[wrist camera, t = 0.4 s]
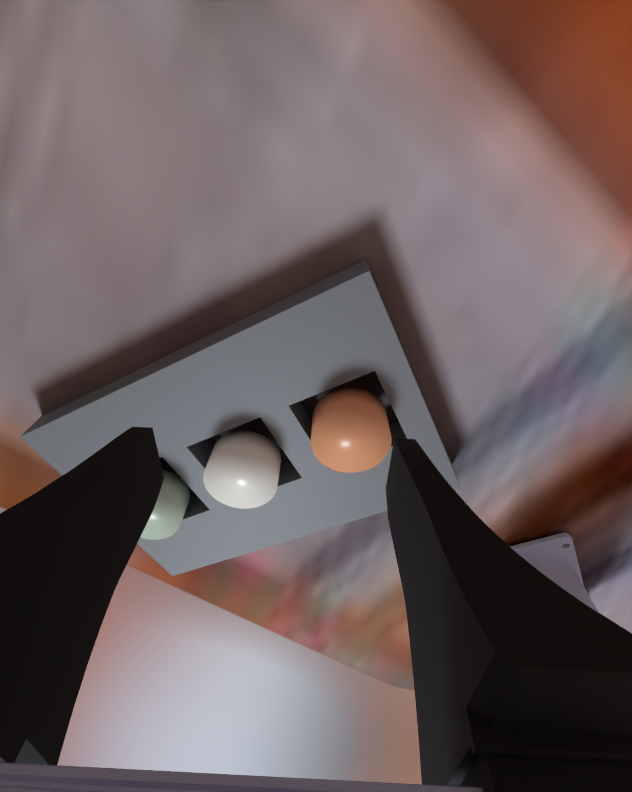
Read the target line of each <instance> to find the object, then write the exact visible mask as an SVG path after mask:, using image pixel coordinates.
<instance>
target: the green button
mask: <svg viewBox="0 0 632 792" xmlns="http://www.w3.org/2000/svg"><path fill="white" fill-rule="evenodd" d="M162 471H163V476H164V480H163V483H162V487H161V490H160V493H159V496H158V499H157V502H156V504H155V507H154V510H153V512H152V514H151V516H150V518H149V520H148V522H147V524H146V526H145V528H144V530H143V533H142V535H141V537H140V538H143V539H150V540H158V539H164V538H167V537H170V536H172V535H173V534H175V533H176V532H177V530H178V529H179V527H180V524H181V521H182V519H183V516H184V514H185V511H186V509H187V506H188V503H189V501H190V492H189V489H188V487H187V485H186V484H185V483H184V482H183V481H182V480H181V479H180V478H179V477H178V476H176V475H175V474H173V473H171V472H169V471H166V470H163V469H162Z"/></svg>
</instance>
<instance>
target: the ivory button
mask: <svg viewBox="0 0 632 792" xmlns="http://www.w3.org/2000/svg"><path fill="white" fill-rule="evenodd" d="M280 466H281V455H280V452H279V450H278V448H277V447H276V445H275V444H274V443H273V442H272V441H271V440H270V439H268V438H267V437H265V436H263V435H261V434H258V433H255V432H251V431H235V432H231V433H228V434H226V435H224V436H222V437H221V438H220V439H219V440H218V441H217V442H216V443H215V445H214V447H213V450H212V452H211V455H210V458H209V460H208V463H207V466H206V468H205V471H204V474H203V482H204V485H205V488H206V489H207V491H208V492H209V494H210V495H211V496H212V497H213V498H215V499H216V500H217V501H219V502H221V503H223V504H225V505H227V506H230V507H234V508H241V509H249V508H256V507H259V506H262V505H264V504H266V503H267V502H269V501H270V500H271V499H272V498H273V497H274V495H275V493H276V490H277V486H278V479H279V472H280Z"/></svg>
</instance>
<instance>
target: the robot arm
mask: <svg viewBox="0 0 632 792" xmlns="http://www.w3.org/2000/svg"><path fill="white" fill-rule="evenodd" d="M163 480H164V476H163V471H162V467H161V463H160V458H159V454H158V449H157V445H156V441H155V436H154V432H153V428H151V427H131V428H130V429H128V430H126V431H125V432H123V433H122V434H121V435H119V436H118V437H116V438H115V439H114V440H112V441H111V442H109V443H108V444H107V445H105V446H104V447H103V448H101V449H100V450H98V451H97V452H96V453H94V454H93V455H92V456H90V457H89V458H87V459H86V460H84V461H83V462H82V463H80V464H79V465H77V466H76V467H75V468H73V469H72V470H70V471H69V472H67V473H66V474H64V475H63V476H61V477H60V478H58V479H57V480H55V481H54V482H52V483H50V484H49V485H47V486H46V487H44V488H43V489H41V490H40V491H38V492H37V493H35V494H33V495H32V496H30V497H28V498H27V499H25V500H23V501H22V502H20V503H18V504H17V505H15V506H13V507H11V508H9V509H8V510H6V511H4V512H2V513H0V792H632V634H631V633H630V632H628V631H627V630H625V629H624V628H622V627H620V626H619V625H617V624H616V623H614V622H612V621H611V620H609V619H608V618H606V617H605V616H603V615H601V614H600V613H599V612H598V611H597V609H596V607H595V605H594V603H593V602H592V600H591V598H590V596H589V595H588V593H587V591H586V589H585V588H584V584H583V580H582V576H581V572H580V568H579V564H578V560H577V556H576V552H575V548H574V544H573V540H572V538H571V536H570V535H569V534H568V533H560V534H556V535H552V536H548V537H544V538H540V539H537V540H533V541H529V542H525V543H521V544H517V545H514V546H510V547H509V546H508V545H507V544H506V543H505V542H504V541H503V540H502V539H501V538H500V537H498V536H497V535H496V534H495V533H494V532H493V531H492V530H491V529H490V528H489V527H488V526H487V525H486V524H485V523H484V522H483V521H482V520H481V519H480V518H479V517H478V516H477V515H476V514H475V513H474V512H473V511H472V510H471V509H470V508H469V506H468V505H467V504H466V503H465V502H464V501H463V500H462V499H461V497H460V496H459V495H458V494H457V493H456V492H455V490H454V489H453V488H452V487H451V486H450V484H449V483H448V482H447V481H446V479H445V478H444V477H443V476H442V474H441V473H440V472H439V471H438V469H437V468H436V467H435V465H434V464H433V463H432V461H431V460H430V459H429V457H428V456H427V455H426V453H425V452H424V450H423V449H422V448H421V446H420V445H419V443H418V442H417V441H416V440H415V439H400V438H394V442H393V448H392V454H391V460H390V466H389V472H388V478H387V484H386V499H387V510H388V520H389V525H390V530H391V535H392V540H393V544H394V549H395V554H396V558H397V563H398V568H399V573H400V577H401V582H402V587H403V592H404V598H405V604H406V611H407V620H408V629H409V637H410V647H411V657H412V667H413V676H414V687H415V698H416V710H417V722H418V734H419V747H420V762H421V775H422V785H420V784H400V783H399V784H398V783H381V782H361V781H342V780H324V779H305V778H286V777H285V778H284V777H267V776H265V777H264V776H248V775H247V776H246V775H229V774H209V773H190V772H171V771H152V770H133V769H113V768H94V767H75V766H57V764H58V760H59V756H60V753H61V749H62V746H63V742H64V739H65V735H66V732H67V729H68V725H69V722H70V718H71V715H72V711H73V708H74V704H75V701H76V698H77V695H78V692H79V689H80V686H81V683H82V680H83V676H84V673H85V670H86V667H87V664H88V661H89V658H90V655H91V652H92V650H93V647H94V644H95V641H96V638H97V635H98V633H99V630H100V627H101V624H102V621H103V619H104V616H105V613H106V611H107V608H108V606H109V603H110V600H111V598H112V595H113V592H114V590H115V588H116V585H117V583H118V581H119V579H120V577H121V575H122V573H123V571H124V569H125V566H126V565H127V563H128V561H129V559H130V557H131V555H132V553H133V551H134V549H135V547H136V545H137V543H138V541H139V539H140V537H141V535H142V533H143V530H144V528H145V526H146V524H147V522H148V520H149V518H150V516H151V514H152V512H153V510H154V507H155V504H156V502H157V499H158V496H159V493H160V490H161V487H162V483H163Z"/></svg>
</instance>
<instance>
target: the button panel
mask: <svg viewBox="0 0 632 792" xmlns="http://www.w3.org/2000/svg"><path fill="white" fill-rule="evenodd" d="M373 371H375V372H376V374H377V376H378V379H379V381H380V383H381V385H382V387H383V389H384V391H385V393H386V395H387V397H388V400H389V402H390V404H391V406H392V408H393V410H394V412H395V414H396V416H397V418H398V421H397V422H394V423H392V424H389V428H390V433H391V440H392V442H391V447H390V450H389V453H388V454H387V456H386V457H385V458H384V460H383V461H381V462H380V463H379V464H378V465H376V466H375V467H373V468H371V469H368V470H365V471H362V472H355V473H345V472H339V471H335V470H332V469H330V468H328V467H326V466H325V465H323V464H322V463H321V462H320V461H319V460H318V459H317V458H316V456H315V455H314V453H313V451H312V447H311V430H312V419H311V417H310V415H309V414H308V412H307V410H306V409H305V407H304V406H303V404H302V402H301V401H302V400H304V399H307V398H309V397H311V396H314V395H316V394H319V393H321V392H324V391H326V390H329V389H331V388H334V387H336V386H339V385H341V384H344V383H346V382H349V381H351V380H353V379H356V378H358V377H361V376H363V375H366V374H368V373H371V372H373ZM257 418H261V419H262V420H263V422H264V423H265V425H266V426H267V428H268V429H269V431H270V432H271V434H272V435H273V436H274V438H275V439H276V441H277V442H278V444H279V445H280V447H281V448H282V450H283V451H284V452H285V454H286V455H287V457H288V458H289V460H290V461H287V462H285V463H282V464H281V466H280V472H279V479H278V486H277V490H276V493H275V495H274V497H273V498H272V499H271V500H270V501H269V502H267V503H266V504H264V505H262V506H259V507H256V508H249V509H241V508H234V507H230V506H227V505H225V504H223V503H221V502H219V501H217V500H216V499H215V498H213V497H212V496H211V495H210V494H209V492H208V491H207V489H206V488H205V485H204V482H203V474H204V471H205V468H206V466H207V463H208V460H209V458H210V455H211V452H212V450H213V446H212V445H211V443H210V442H209V441H208V440H207V439H208V438H210V437H213V436H215V435H218V434H220V433H223V432H225V431H227V430H230V429H232V428H235V427H237V426H240V425H242V424H245V423H247V422H250V421H252V420H255V419H257ZM131 427H151V428H153V432H154V436H155V441H156V445H157V449H158V454H159V458H161V457H163V458H164V459H165V460H166V461H167V463H168V464H169V465H170V466H171V467H172V468H173V469H174V470H175V471H176V473H177V474H178V475H179V476H180V477H181V478H182V479H183V480H184V482H185V483H186V484H187V485H188V486H189V487H190V488H191V489H192V490H193V492H194V493H195V494H196V495H194V496H191V497H190V501H189V503H188V506H187V509H186V511H185V514H184V516H183V519H182V521H181V524H180V527H179V529H178V530H177V532H176V533H175V534H173V535H172V536H170V537H167V538H164V539H158V540H150V539H143V538H140V539H139V541H138V543H137V544H138V545H139V546H140V547H141V548H142V549H144V550H145V551H146V552H147V553H148V554H149V555H150V556H151V557H152V558H153V559H154V560H156V561H157V562H158V563H159V564H160V565H161V566H162V567H163V568H164V569H165V570H166V571H168V572H169V573H170V574H171V575H172V576H175V575H178V574H181V573H185V572H188V571H191V570H194V569H198V568H201V567H204V566H208V565H211V564H214V563H217V562H221V561H224V560H227V559H230V558H234V557H237V556H240V555H243V554H247V553H250V552H253V551H256V550H260V549H263V548H266V547H270V546H273V545H276V544H279V543H283V542H286V541H289V540H292V539H296V538H299V537H302V536H305V535H309V534H312V533H315V532H318V531H322V530H325V529H328V528H332V527H335V526H338V525H341V524H345V523H348V522H351V521H354V520H358V519H361V518H364V517H367V516H371V515H374V514H377V513H381V512H384V511H387V499H386V484H387V478H388V472H389V466H390V460H391V454H392V448H393V442H394V438H400V439H415V440H416V441H417V442H418V443H419V445H420V446H421V448H422V449H423V450H424V452H425V453H426V455H427V456H428V457H429V459H430V460H431V461H432V463H433V464H434V465H435V467H436V468H437V469H438V471H439V472H440V473H441V474H442V476H443V477H444V478H445V479H446V481H447V482H448V483H449V484H450V486H451V487H452V488H453V489H454V490H456V489H459V488H461V487H460V484H459V481H458V479H457V476H456V473H455V471H454V468H453V465H452V463H451V461H450V458H449V456H448V453H447V451H446V449H445V446H444V444H443V442H442V439H441V437H440V434H439V432H438V430H437V427H436V425H435V422H434V420H433V418H432V415H431V413H430V411H429V408H428V406H427V403H426V401H425V399H424V396H423V394H422V392H421V389H420V387H419V384H418V382H417V380H416V377H415V375H414V373H413V370H412V368H411V365H410V363H409V361H408V358H407V356H406V354H405V351H404V349H403V346H402V344H401V342H400V339H399V337H398V334H397V332H396V330H395V327H394V325H393V323H392V320H391V318H390V315H389V313H388V311H387V308H386V306H385V304H384V301H383V299H382V296H381V294H380V292H379V289H378V287H377V285H376V282H375V280H374V277H373V275H372V273H371V270H370V268H369V266H368V263H367V261H366V259H365V260H362V261H360V262H358V263H356V264H354V265H352V266H350V267H348V268H346V269H344V270H342V271H340V272H338V273H336V274H334V275H332V276H329V277H327V278H325V279H323V280H321V281H319V282H317V283H315V284H313V285H311V286H309V287H307V288H305V289H303V290H301V291H299V292H296V293H294V294H292V295H290V296H288V297H286V298H284V299H282V300H280V301H278V302H276V303H274V304H272V305H270V306H268V307H265V308H263V309H261V310H259V311H257V312H255V313H253V314H251V315H249V316H247V317H245V318H243V319H241V320H239V321H237V322H235V323H232V324H230V325H228V326H226V327H224V328H222V329H220V330H218V331H216V332H214V333H212V334H210V335H208V336H206V337H204V338H202V339H199V340H197V341H195V342H193V343H191V344H189V345H187V346H185V347H183V348H181V349H179V350H177V351H175V352H173V353H171V354H169V355H166V356H164V357H162V358H160V359H158V360H156V361H154V362H152V363H150V364H148V365H146V366H144V367H142V368H140V369H138V370H136V371H133V372H131V373H129V374H127V375H125V376H123V377H121V378H119V379H117V380H115V381H113V382H111V383H109V384H107V385H105V386H103V387H100V388H98V389H96V390H94V391H92V392H90V393H88V394H86V395H84V396H82V397H80V398H78V399H76V400H74V401H72V402H69V403H67V404H65V405H63V406H61V407H59V408H57V409H55V410H53V411H51V412H49V413H47V414H45V415H43V416H41V417H40V418H39V419H38V420H37V421H36V422H35V423H34V424H33V425H32V426H31V427H30V428H29V429H28V430H26V431H25V432H24V433H23V434H22V435H21V436H20V437H21V438H22V439H23V440H24V441H25V442H26V443H28V444H29V445H30V446H31V447H32V448H33V449H34V450H35V451H36V452H37V453H39V454H40V455H41V456H42V457H43V458H44V459H45V460H46V461H47V462H48V463H49V464H51V465H52V466H53V467H54V468H55V469H56V470H57V471H58V472H59V473H60V474H61V475H64V474H66V473H67V472H69V471H70V470H72V469H73V468H75V467H76V466H77V465H79V464H80V463H82V462H83V461H84V460H86V459H87V458H89V457H90V456H92V455H93V454H94V453H96V452H97V451H98V450H100V449H101V448H103V447H104V446H105V445H107V444H108V443H109V442H111V441H112V440H114V439H115V438H116V437H118V436H119V435H121V434H122V433H123V432H125V431H126V430H128V429H130V428H131Z"/></svg>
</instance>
